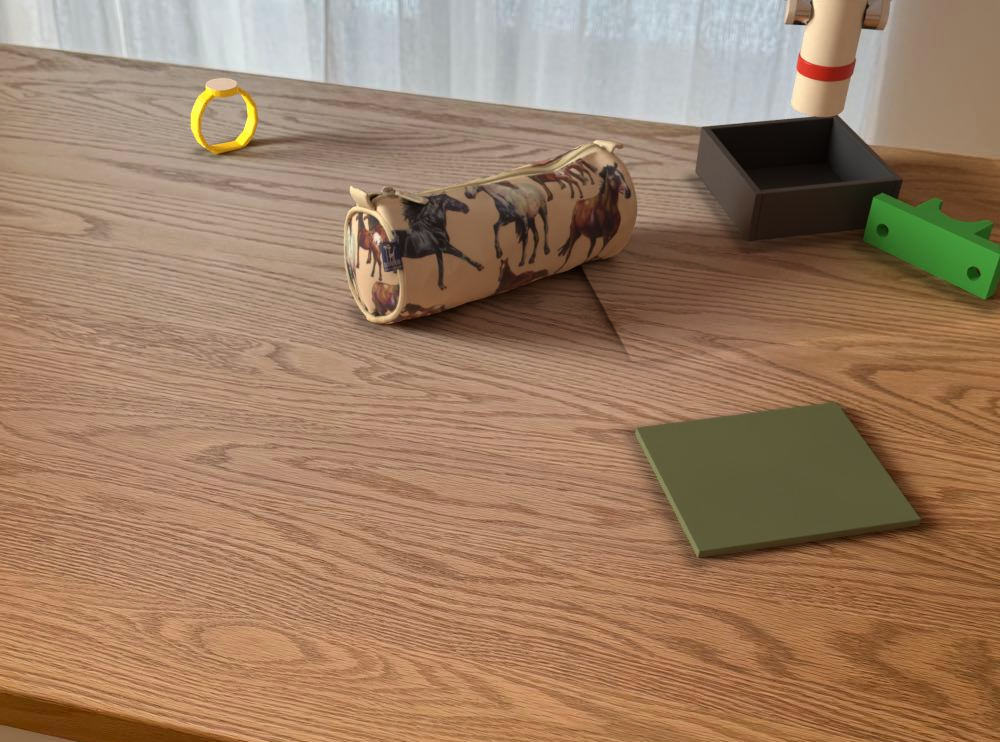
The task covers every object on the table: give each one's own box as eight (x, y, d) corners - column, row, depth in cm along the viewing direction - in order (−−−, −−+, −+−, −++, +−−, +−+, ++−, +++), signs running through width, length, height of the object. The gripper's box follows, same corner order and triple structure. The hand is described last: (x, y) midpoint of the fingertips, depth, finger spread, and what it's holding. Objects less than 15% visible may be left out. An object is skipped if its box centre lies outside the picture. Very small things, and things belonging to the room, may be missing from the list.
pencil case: (389, 351, 88) (384, 226, 81) (337, 295, 93) (328, 173, 87) (641, 272, 96) (655, 153, 89) (580, 225, 101) (589, 109, 94)
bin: (825, 166, 109) (837, 113, 106) (888, 234, 100) (903, 179, 97) (693, 179, 107) (701, 126, 104) (746, 250, 98) (756, 194, 95)
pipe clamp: (1010, 293, 94) (1030, 238, 91) (981, 309, 92) (1000, 255, 89) (888, 234, 100) (903, 181, 97) (859, 248, 98) (873, 195, 95)
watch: (205, 164, 109) (196, 98, 105) (191, 152, 111) (180, 87, 107) (265, 146, 112) (258, 80, 108) (249, 135, 113) (242, 70, 109)
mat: (834, 408, 83) (836, 401, 83) (919, 526, 74) (921, 519, 74) (634, 434, 81) (635, 427, 80) (697, 559, 72) (698, 551, 72)
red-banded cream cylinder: (831, 93, 88) (862, -57, 81) (854, 115, 85) (889, -38, 78) (780, 97, 87) (808, -53, 80) (802, 120, 85) (832, -34, 78)
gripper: (703, -219, 80) (679, -9, 80) (1033, -205, 78) (1010, 11, 77) (696, -160, 87) (674, 35, 86) (1001, -146, 84) (979, 54, 84)
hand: (835, 24), depth 82 cm, fingers closed on red-banded cream cylinder, 3 cm apart
